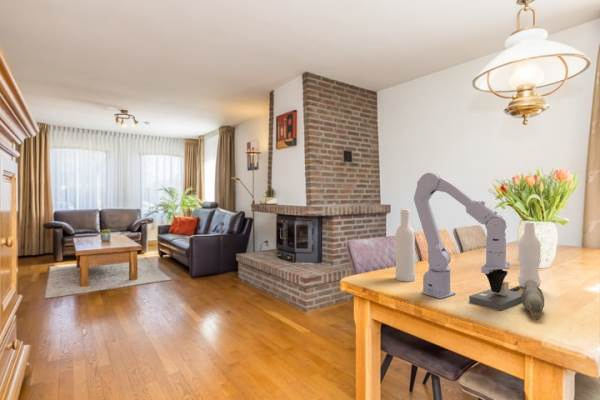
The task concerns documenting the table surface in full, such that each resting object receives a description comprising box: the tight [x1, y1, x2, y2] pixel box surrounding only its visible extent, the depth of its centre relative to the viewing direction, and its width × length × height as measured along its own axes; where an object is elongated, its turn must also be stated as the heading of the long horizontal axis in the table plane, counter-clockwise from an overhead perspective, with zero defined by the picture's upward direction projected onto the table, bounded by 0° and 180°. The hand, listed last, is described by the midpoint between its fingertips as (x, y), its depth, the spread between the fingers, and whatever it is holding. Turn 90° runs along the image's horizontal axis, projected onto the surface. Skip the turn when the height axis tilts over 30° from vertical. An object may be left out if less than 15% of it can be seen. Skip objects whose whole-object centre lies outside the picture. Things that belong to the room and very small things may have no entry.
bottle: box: [395, 208, 416, 283], centre depth 137 cm, size 8×8×30 cm
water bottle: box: [517, 222, 542, 289], centre depth 124 cm, size 7×7×25 cm
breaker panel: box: [468, 288, 522, 312], centre depth 109 cm, size 18×10×2 cm, turn 123°
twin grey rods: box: [509, 285, 521, 292], centre depth 117 cm, size 12×6×1 cm, turn 123°
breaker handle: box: [492, 280, 510, 296], centre depth 109 cm, size 3×4×4 cm
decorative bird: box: [521, 279, 545, 321], centre depth 100 cm, size 6×17×8 cm, turn 149°
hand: (495, 291), depth 108 cm, fingers closed
